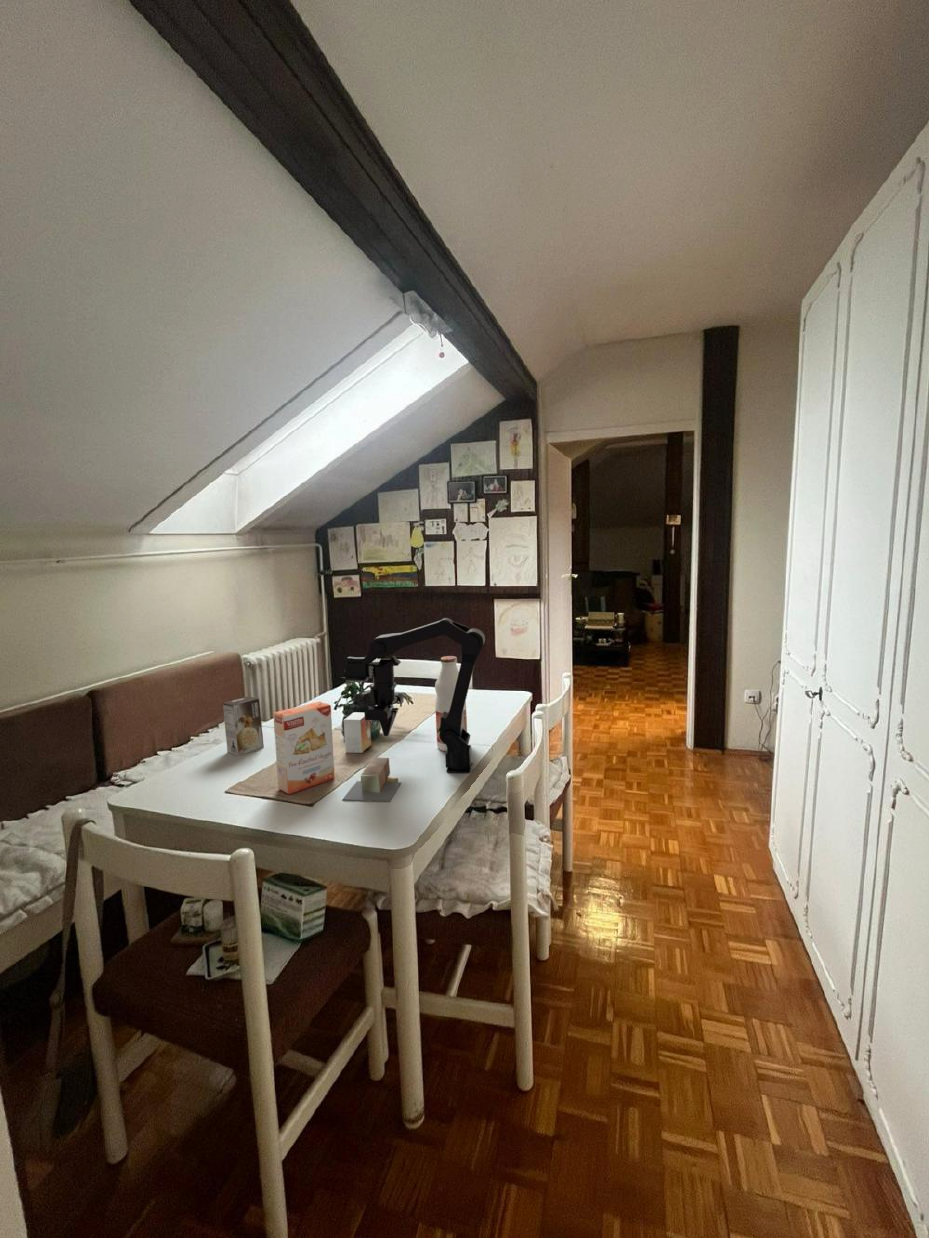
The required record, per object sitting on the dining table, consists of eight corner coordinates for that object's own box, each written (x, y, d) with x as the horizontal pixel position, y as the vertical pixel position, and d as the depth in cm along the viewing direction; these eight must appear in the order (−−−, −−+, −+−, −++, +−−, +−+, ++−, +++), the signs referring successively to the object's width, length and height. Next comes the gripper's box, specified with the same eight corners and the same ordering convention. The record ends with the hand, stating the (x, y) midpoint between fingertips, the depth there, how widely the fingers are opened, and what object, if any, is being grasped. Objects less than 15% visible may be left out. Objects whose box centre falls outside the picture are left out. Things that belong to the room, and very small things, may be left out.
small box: (362, 753, 177) (360, 719, 175) (345, 752, 178) (342, 719, 176) (371, 744, 184) (369, 712, 183) (355, 743, 186) (353, 711, 184)
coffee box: (252, 743, 189) (248, 695, 187) (264, 747, 185) (260, 698, 183) (226, 752, 182) (221, 702, 180) (238, 756, 178) (233, 705, 176)
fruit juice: (449, 754, 173) (445, 662, 169) (431, 746, 180) (426, 657, 177) (473, 746, 179) (470, 657, 175) (454, 739, 186) (451, 653, 182)
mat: (400, 783, 154) (400, 782, 153) (389, 801, 143) (389, 800, 143) (357, 782, 155) (356, 781, 155) (342, 800, 145) (342, 799, 145)
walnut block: (388, 757, 156) (377, 776, 147) (390, 773, 157) (379, 792, 148) (372, 757, 157) (360, 775, 147) (374, 772, 158) (362, 792, 148)
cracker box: (289, 796, 148) (283, 716, 146) (277, 789, 153) (271, 712, 150) (336, 778, 158) (331, 703, 155) (324, 773, 162) (319, 700, 160)
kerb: (398, 781, 155) (398, 777, 155) (397, 782, 154) (397, 779, 154) (362, 780, 156) (361, 776, 156) (360, 781, 155) (360, 778, 155)
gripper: (365, 673, 171) (368, 724, 173) (344, 689, 153) (347, 746, 155) (402, 673, 170) (405, 725, 172) (385, 689, 151) (388, 747, 153)
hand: (386, 735), depth 163 cm, fingers closed
